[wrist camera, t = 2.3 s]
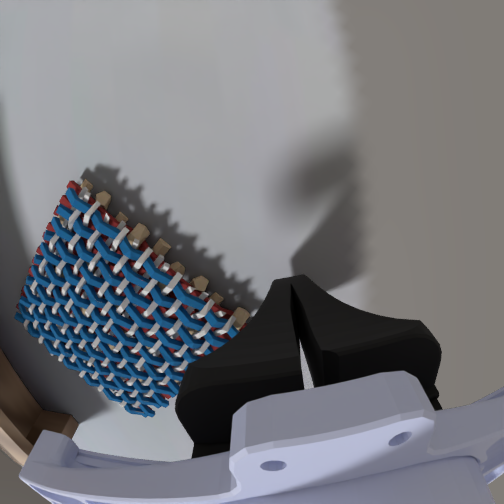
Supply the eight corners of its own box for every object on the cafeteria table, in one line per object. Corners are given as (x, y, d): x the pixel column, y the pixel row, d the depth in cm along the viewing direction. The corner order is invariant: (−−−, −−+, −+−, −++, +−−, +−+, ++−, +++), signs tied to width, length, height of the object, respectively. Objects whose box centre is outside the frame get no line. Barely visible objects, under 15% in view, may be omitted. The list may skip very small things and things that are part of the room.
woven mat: (88, 163, 11) (63, 168, 10) (261, 312, 14) (261, 337, 12) (23, 301, 14) (5, 317, 12) (149, 404, 17) (141, 427, 15)
